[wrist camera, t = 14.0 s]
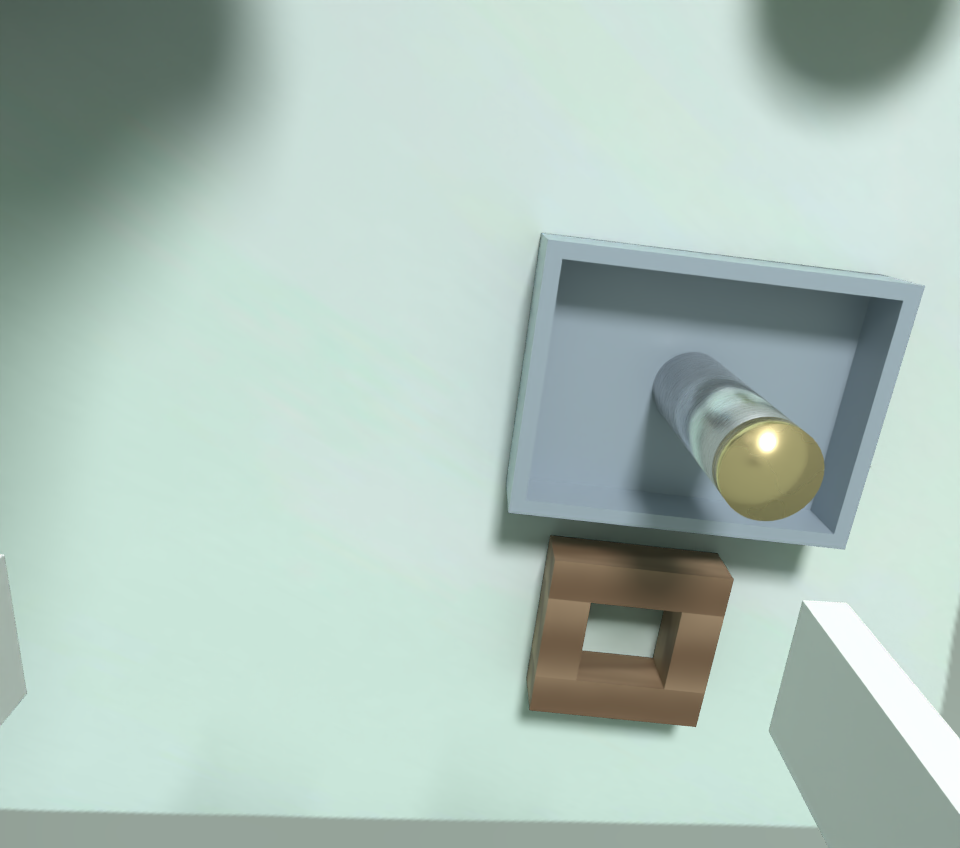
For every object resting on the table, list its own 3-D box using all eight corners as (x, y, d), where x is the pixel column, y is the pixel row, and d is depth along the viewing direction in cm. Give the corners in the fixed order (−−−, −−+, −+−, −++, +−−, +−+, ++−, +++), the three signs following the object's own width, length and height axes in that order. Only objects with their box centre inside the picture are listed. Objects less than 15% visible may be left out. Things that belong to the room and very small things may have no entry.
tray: (541, 232, 39) (547, 239, 35) (882, 274, 39) (925, 285, 36) (506, 482, 43) (508, 512, 39) (813, 516, 44) (844, 549, 40)
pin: (660, 347, 40) (732, 418, 28) (734, 356, 40) (836, 431, 28) (645, 419, 41) (709, 515, 29) (718, 427, 41) (809, 526, 30)
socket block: (550, 535, 44) (554, 560, 41) (717, 553, 45) (733, 579, 42) (526, 677, 47) (529, 710, 44) (683, 693, 48) (695, 727, 45)
